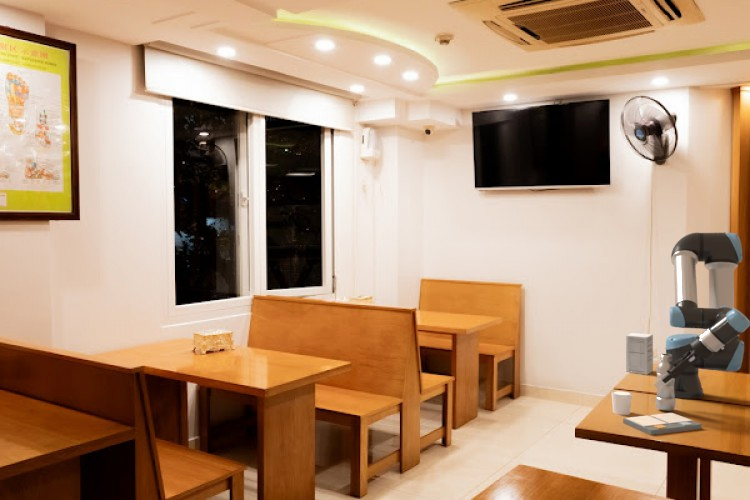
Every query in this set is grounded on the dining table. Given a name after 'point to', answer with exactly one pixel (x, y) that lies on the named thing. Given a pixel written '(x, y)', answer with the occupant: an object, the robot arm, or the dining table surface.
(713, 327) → the robot arm
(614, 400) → the white cup
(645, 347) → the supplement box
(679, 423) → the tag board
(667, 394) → the plastic bottle
